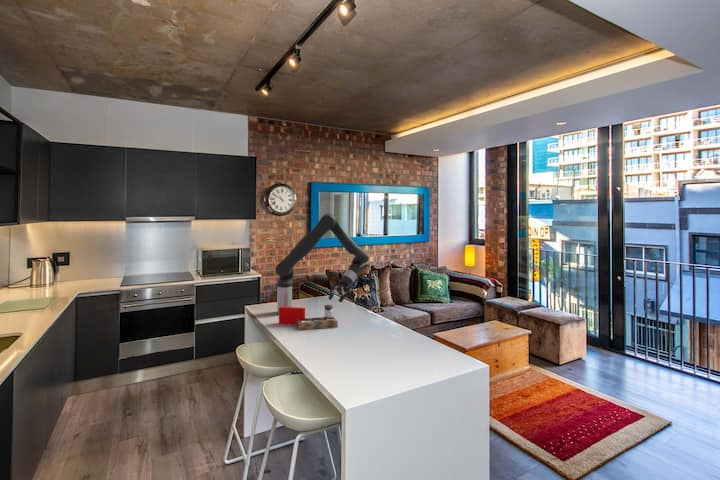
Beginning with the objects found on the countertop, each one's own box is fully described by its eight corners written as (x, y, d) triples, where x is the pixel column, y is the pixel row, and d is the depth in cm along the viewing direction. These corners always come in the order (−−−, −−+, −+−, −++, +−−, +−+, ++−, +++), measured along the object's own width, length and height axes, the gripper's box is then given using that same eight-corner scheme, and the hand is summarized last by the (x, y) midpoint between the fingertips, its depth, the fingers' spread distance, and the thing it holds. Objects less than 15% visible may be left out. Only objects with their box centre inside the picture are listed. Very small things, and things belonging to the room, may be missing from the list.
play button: (305, 324, 219) (305, 307, 218) (303, 326, 216) (303, 309, 215) (280, 323, 221) (280, 306, 220) (278, 324, 218) (278, 307, 217)
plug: (323, 323, 221) (323, 304, 220) (330, 322, 222) (331, 304, 222) (325, 325, 217) (325, 306, 216) (332, 324, 218) (333, 306, 217)
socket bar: (299, 330, 207) (299, 322, 207) (296, 324, 216) (296, 317, 216) (337, 327, 214) (337, 320, 214) (333, 322, 223) (333, 315, 223)
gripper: (337, 273, 231) (323, 294, 224) (354, 276, 222) (340, 298, 214) (342, 281, 236) (329, 302, 228) (359, 284, 226) (346, 306, 219)
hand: (334, 300), depth 221 cm, fingers open, 8 cm apart
